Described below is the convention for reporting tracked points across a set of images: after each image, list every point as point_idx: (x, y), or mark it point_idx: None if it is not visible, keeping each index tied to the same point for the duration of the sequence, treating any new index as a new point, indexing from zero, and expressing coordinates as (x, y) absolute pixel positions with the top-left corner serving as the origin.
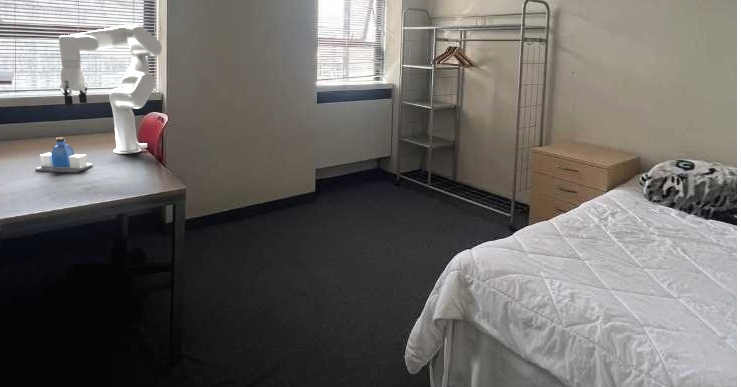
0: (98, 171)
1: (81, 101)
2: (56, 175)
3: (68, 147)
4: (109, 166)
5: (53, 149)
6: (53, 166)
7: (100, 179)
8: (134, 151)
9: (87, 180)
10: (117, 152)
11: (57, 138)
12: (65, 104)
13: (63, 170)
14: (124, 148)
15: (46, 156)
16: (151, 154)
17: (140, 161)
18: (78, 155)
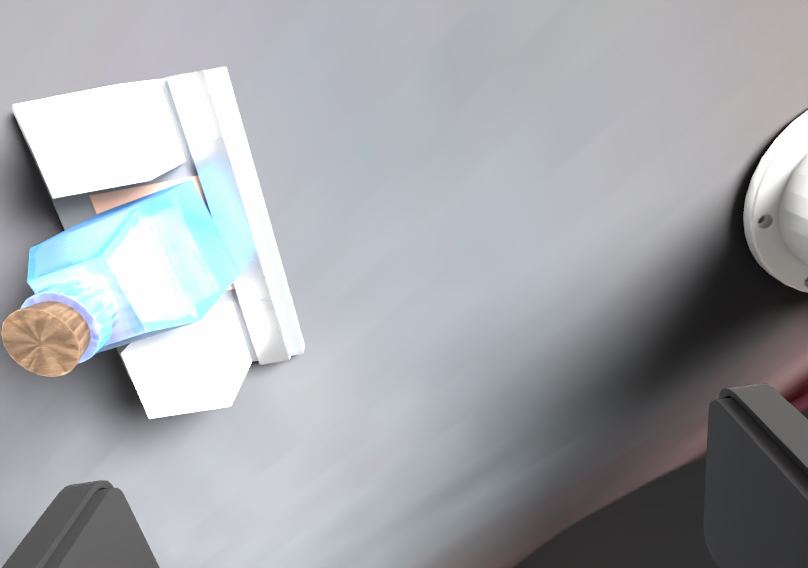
0: (229, 451)
1: (730, 468)
2: None
3: (140, 336)
4: (356, 418)
5: (31, 270)
6: (113, 192)
7: None
8: (797, 289)
9: None
10: (751, 188)
11: (14, 334)
12: (68, 488)
13: None
14: (794, 239)
15: (46, 168)
16: None
17: (542, 471)
18: (185, 380)
